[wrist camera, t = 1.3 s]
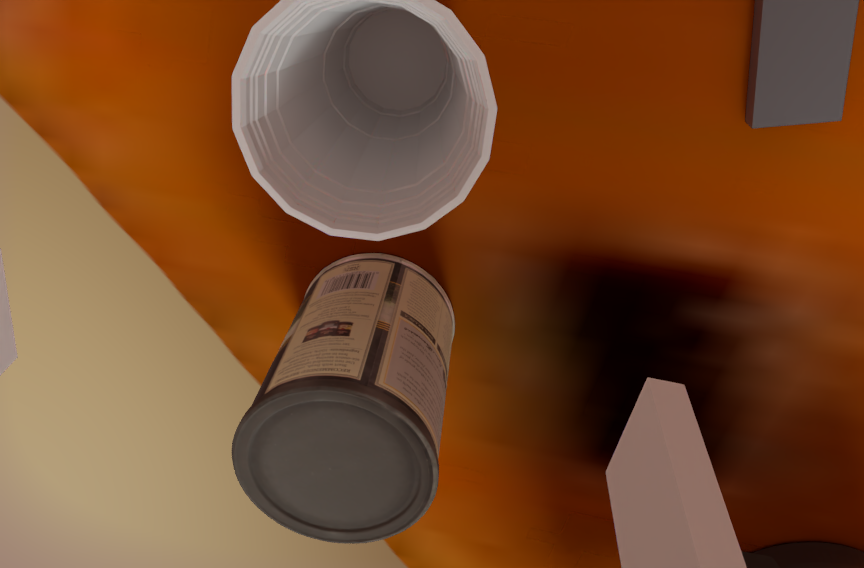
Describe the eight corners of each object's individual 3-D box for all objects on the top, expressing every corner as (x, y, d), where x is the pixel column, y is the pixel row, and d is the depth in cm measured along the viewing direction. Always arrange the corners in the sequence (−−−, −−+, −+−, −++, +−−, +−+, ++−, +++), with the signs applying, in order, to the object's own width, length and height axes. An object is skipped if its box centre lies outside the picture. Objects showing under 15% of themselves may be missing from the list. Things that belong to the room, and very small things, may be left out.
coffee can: (372, 406, 51) (328, 571, 39) (271, 305, 48) (188, 450, 36) (488, 336, 47) (480, 494, 35) (387, 220, 44) (339, 350, 32)
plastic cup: (532, 105, 40) (540, 183, 29) (365, 183, 43) (318, 278, 32) (444, -92, 36) (417, -84, 25) (265, 11, 39) (175, 57, 28)
